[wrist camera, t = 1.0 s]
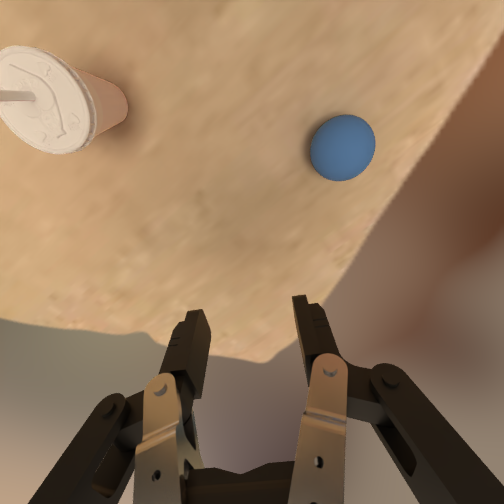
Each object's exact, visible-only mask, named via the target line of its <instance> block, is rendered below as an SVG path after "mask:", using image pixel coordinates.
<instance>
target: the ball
mask: <svg viewBox="0 0 504 504" xmlns="http://www.w3.org/2000/svg"><path fill="white" fill-rule="evenodd" d="M374 151H375V136H374V133H373V131H372V129H371V127H370V126H369V125H368V123H367V122H366V121H364V120H363V119H361V118H359V117H357V116H354V115H340V116H337V117H334V118H332V119H330V120H328V121H327V122H325V123H324V124H323V125H322V126H321V127H320V128H319V129H318V131H317V132H316V134H315V135H314V137H313V140H312V143H311V148H310V156H311V161H312V164H313V166H314V168H315V170H316V171H317V172H318V173H319V174H320V175H321V176H323V177H324V178H326V179H329V180H332V181H345V180H349V179H352V178H354V177H356V176H357V175H359V174H360V173H361V172H363V171H364V170H365V169H366V167H367V166H368V165H369V163H370V162H371V160H372V157H373V155H374Z"/></svg>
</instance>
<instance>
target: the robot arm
mask: <svg viewBox="0 0 504 504" xmlns="http://www.w3.org/2000/svg"><path fill="white" fill-rule="evenodd" d="M292 302H293V309H294V317H295V323H296V328H297V333H298V338H299V343H300V348H301V353H302V358H303V363H304V368H305V373H306V378H307V382H308V387H309V393H308V399H307V405H306V410H305V412H304V413H303V416H302V420H301V426H300V433H299V438H298V444H297V451H296V457H295V461H287V462H276V463H267V464H265V465H263V466H260V467H258V468H256V469H253V470H251V471H249V472H246V473H244V474H236V473H233V472H229V471H225V470H222V469H218V468H205V467H204V464H203V461H202V459H201V455H200V450H199V444H198V437H197V430H196V424H195V417H194V411H193V409H192V406H193V400H194V399H201V395H202V391H203V384H204V378H205V372H206V366H207V360H208V354H209V348H210V342H211V330H210V327H209V324H208V322H207V319H206V317H205V314H204V312H203V310H202V309H198V310H191V311H188V312H187V314H186V318H185V321H182V322H179V323H178V325H177V326H176V327H175V328H174V330H173V332H172V335H171V338H170V339H171V340H170V341H169V344H168V347H167V351H166V353H165V356H164V359H163V363H162V366H161V369H160V372H159V374H158V375H157V376H155V377H154V378H153V379H152V380H151V381H150V382H149V383H148V384H147V386H146V388H145V390H143V391H141V392H139V393H136V394H134V395H132V396H130V397H127V398H125V397H124V396H123V395H122V394H120V393H115V394H111V395H109V396H107V397H105V398H104V399H103V400H102V401H101V402H100V403H99V404H98V405H97V406H96V407H95V409H94V410H93V412H92V413H91V415H90V416H89V417H88V419H87V420H86V422H85V423H84V424H83V426H82V428H81V429H80V430H79V432H78V433H77V434H76V436H75V437H74V439H73V440H72V441H71V443H70V444H69V446H68V447H67V449H66V450H65V451H64V453H63V454H62V456H61V457H60V459H59V460H58V461H57V463H56V464H55V466H54V467H53V469H52V470H51V471H50V473H49V474H48V476H47V477H46V478H45V480H44V481H43V483H42V484H41V486H40V487H39V488H38V490H37V492H36V493H35V494H34V496H33V497H32V498H31V500H30V501H29V503H28V504H118V502H119V500H120V498H121V496H122V494H123V492H124V490H125V488H126V486H127V484H128V482H129V479H130V477H131V475H132V473H133V471H134V469H135V472H134V493H133V504H344V478H345V447H346V418H347V417H349V418H353V419H357V420H361V421H365V422H369V423H370V424H371V425H372V427H373V428H374V430H375V432H376V433H377V435H378V437H379V438H380V440H381V441H382V443H383V445H384V446H385V448H386V450H387V451H388V453H389V455H390V456H391V458H392V460H393V461H394V463H395V464H396V466H397V468H398V469H399V471H400V473H401V474H402V476H403V477H404V479H405V481H406V482H407V484H408V486H409V487H410V489H411V490H412V492H413V494H414V495H415V497H416V499H417V500H418V502H419V503H420V504H504V486H503V485H502V484H501V482H500V481H499V480H498V479H497V478H496V477H495V475H494V474H493V473H492V472H491V471H490V470H489V469H488V467H487V466H486V465H485V464H484V463H483V462H482V461H481V459H480V458H479V457H478V456H477V455H476V454H475V452H474V451H473V450H472V449H471V448H470V447H469V446H468V444H467V443H466V442H465V441H464V440H463V439H462V438H461V436H460V435H459V434H458V433H457V432H456V431H455V430H454V428H453V427H452V426H451V425H450V424H449V423H448V421H447V420H446V419H445V418H444V417H443V416H442V415H441V413H440V412H439V411H438V410H437V409H436V408H435V406H434V405H433V404H432V403H431V402H430V401H429V400H428V398H427V397H426V396H425V395H424V394H423V393H422V391H421V390H420V389H419V388H418V387H417V386H416V384H414V382H413V381H412V380H411V379H410V378H409V376H408V375H407V374H406V373H405V372H404V371H403V370H402V369H400V368H399V367H397V366H395V365H392V364H387V363H382V364H378V365H376V366H374V367H373V368H372V369H367V368H362V367H357V366H354V365H352V364H350V363H348V362H347V361H345V360H344V359H343V358H342V357H341V355H340V353H339V351H338V348H337V346H336V343H335V340H334V337H333V334H332V331H331V328H330V326H329V322H328V320H327V317H326V314H325V311H324V309H323V308H322V307H321V306H320V305H319V304H318V303H314V304H308V301H307V297H306V295H298V296H292ZM110 446H111V447H110ZM106 453H107V454H106ZM103 458H104V459H103ZM99 465H100V466H99ZM96 470H97V471H96Z"/></svg>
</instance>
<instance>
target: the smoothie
mask: <svg viewBox="0 0 504 504" xmlns="http://www.w3.org/2000/svg"><path fill="white" fill-rule="evenodd" d="M127 114H128V103H127V100H126V97H125V95H124V94H123V92H122V91H121V90H120V89H119V88H118V87H117V86H116V85H114V84H113V83H111V82H108V81H106V80H103V79H101V78H99V77H96V76H94V75H91V74H89V73H86V72H84V71H82V70H79V69H77V68H74V67H72V66H70V65H68V64H67V63H66V62H65V61H64V60H62V59H61V58H59V57H57V56H56V55H54V54H52V53H51V52H48V51H45V50H42V49H39V48H36V47H27V46H10V47H6V48H4V49H2V50H0V117H1V118H2V120H3V121H4V122H5V124H6V125H7V126H8V127H9V128H10V129H11V130H12V131H13V133H15V134H16V135H17V136H18V137H19V138H20V139H22V140H23V141H24V142H26V143H27V144H29V145H30V146H32V147H34V148H36V149H38V150H41V151H43V152H47V153H51V154H67V153H74V152H77V151H80V150H82V149H84V148H85V147H86V146H88V145H89V144H90V142H91V141H92V139H93V138H94V137H95V136H97V135H99V134H101V133H103V132H104V131H106V130H108V129H110V128H111V127H113V126H115V125H117V124H119V123H120V122H122V121H123V120H124V119H125V118H126V116H127Z"/></svg>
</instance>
